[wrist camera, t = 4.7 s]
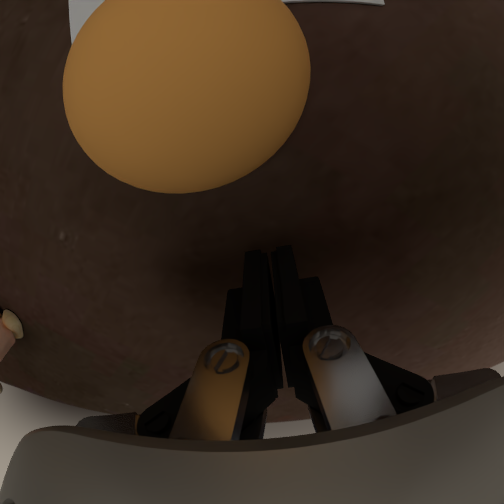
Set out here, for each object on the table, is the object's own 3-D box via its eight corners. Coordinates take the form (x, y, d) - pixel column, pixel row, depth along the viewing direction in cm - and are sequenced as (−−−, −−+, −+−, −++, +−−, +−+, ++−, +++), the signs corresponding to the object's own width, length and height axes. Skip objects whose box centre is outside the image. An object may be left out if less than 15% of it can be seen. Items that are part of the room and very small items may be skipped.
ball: (402, 146, 4) (314, 135, 9) (254, -106, 1) (247, -2, 7) (84, 281, 5) (162, 200, 10) (-9, 39, 2) (101, 68, 8)
